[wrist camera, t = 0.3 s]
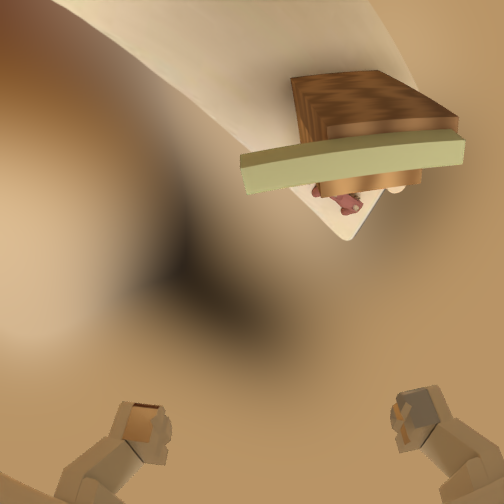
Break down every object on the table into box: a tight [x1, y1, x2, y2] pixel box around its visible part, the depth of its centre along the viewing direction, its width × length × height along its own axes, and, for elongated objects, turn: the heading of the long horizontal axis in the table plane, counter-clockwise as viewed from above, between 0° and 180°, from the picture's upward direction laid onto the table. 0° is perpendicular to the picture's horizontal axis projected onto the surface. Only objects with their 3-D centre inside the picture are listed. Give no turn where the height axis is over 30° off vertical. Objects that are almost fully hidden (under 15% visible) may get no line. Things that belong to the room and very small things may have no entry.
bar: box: [240, 129, 465, 195], centre depth 29 cm, size 24×3×3 cm, turn 102°
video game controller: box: [312, 187, 363, 215], centre depth 61 cm, size 10×5×7 cm, turn 57°
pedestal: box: [290, 70, 459, 198], centre depth 42 cm, size 16×14×25 cm
